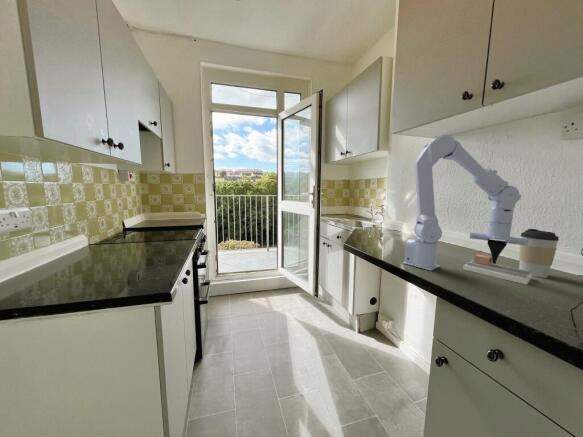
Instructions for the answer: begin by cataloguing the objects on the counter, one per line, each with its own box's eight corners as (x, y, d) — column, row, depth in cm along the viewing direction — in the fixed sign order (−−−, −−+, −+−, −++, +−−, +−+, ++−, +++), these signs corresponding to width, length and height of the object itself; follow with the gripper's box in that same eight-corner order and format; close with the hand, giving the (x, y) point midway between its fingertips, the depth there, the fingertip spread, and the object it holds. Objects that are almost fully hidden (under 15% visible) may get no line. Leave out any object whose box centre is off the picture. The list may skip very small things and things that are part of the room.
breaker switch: (473, 265, 82) (475, 255, 82) (476, 263, 85) (478, 254, 84) (488, 268, 79) (489, 258, 79) (491, 266, 82) (492, 256, 81)
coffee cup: (560, 280, 76) (569, 233, 74) (527, 277, 78) (534, 231, 76) (537, 271, 85) (544, 229, 83) (508, 268, 86) (514, 227, 85)
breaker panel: (462, 269, 83) (463, 262, 82) (471, 265, 88) (471, 258, 88) (527, 284, 70) (528, 276, 70) (531, 278, 76) (532, 271, 76)
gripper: (470, 221, 80) (465, 260, 82) (531, 226, 70) (524, 271, 72) (473, 219, 85) (468, 256, 87) (530, 224, 75) (524, 266, 77)
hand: (494, 263), depth 80 cm, fingers closed
